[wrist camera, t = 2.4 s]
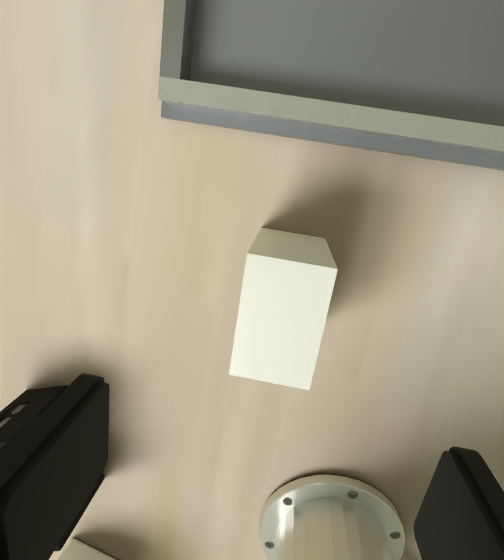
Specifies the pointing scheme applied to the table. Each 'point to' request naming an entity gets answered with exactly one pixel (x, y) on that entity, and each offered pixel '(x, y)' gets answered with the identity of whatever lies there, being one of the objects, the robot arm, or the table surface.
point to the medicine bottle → (82, 552)
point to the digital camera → (23, 410)
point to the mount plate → (356, 64)
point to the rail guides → (301, 99)
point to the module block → (283, 308)
